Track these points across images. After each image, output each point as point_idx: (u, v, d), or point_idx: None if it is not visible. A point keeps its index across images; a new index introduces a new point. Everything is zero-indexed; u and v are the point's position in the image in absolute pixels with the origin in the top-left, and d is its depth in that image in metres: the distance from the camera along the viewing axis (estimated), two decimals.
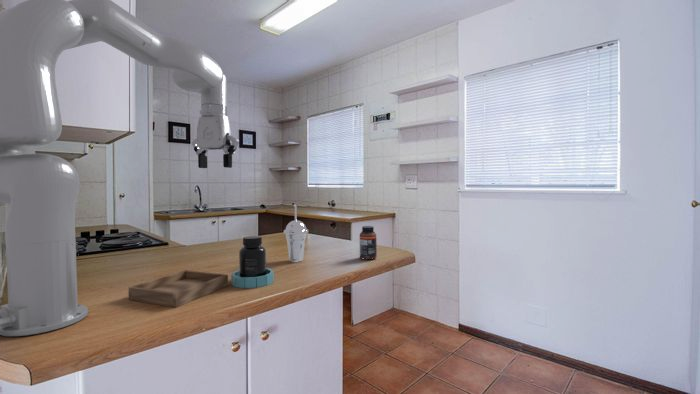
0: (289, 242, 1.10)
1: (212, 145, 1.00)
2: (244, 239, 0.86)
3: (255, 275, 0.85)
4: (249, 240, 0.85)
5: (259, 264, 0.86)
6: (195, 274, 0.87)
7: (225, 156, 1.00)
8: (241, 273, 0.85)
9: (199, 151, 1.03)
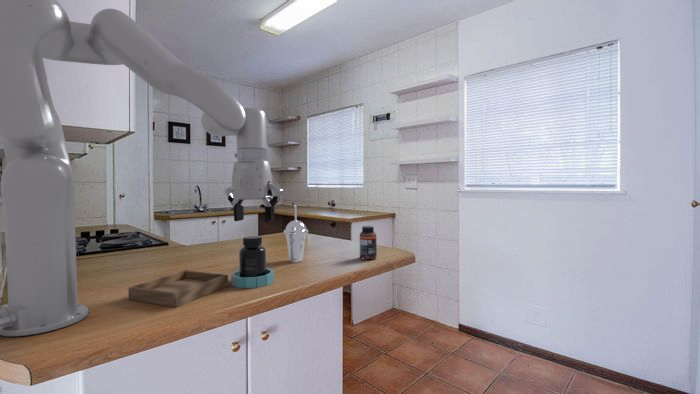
0: (289, 242, 1.10)
1: (251, 197, 0.84)
2: (244, 239, 0.86)
3: (255, 275, 0.85)
4: (249, 240, 0.85)
5: (259, 264, 0.86)
6: (195, 274, 0.87)
7: (267, 209, 0.85)
8: (241, 273, 0.85)
9: (235, 202, 0.88)
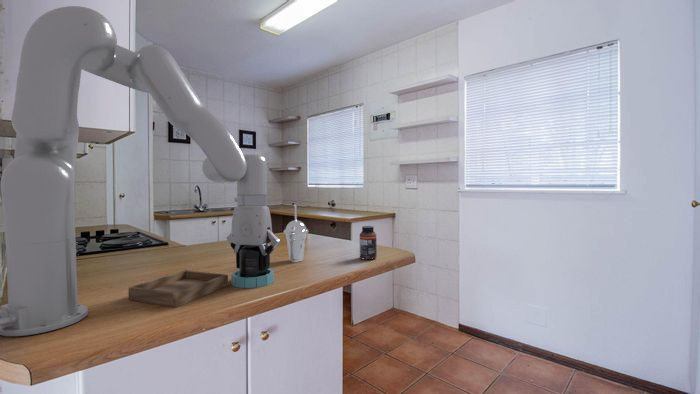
0: (289, 242, 1.10)
1: (251, 243, 0.84)
2: None
3: (255, 275, 0.85)
4: None
5: (259, 264, 0.86)
6: (195, 274, 0.87)
7: (262, 258, 0.85)
8: (241, 273, 0.85)
9: (237, 248, 0.88)
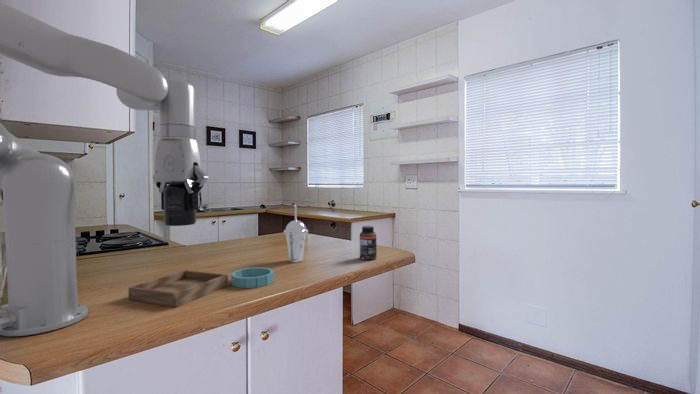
0: (289, 242, 1.10)
1: (174, 179, 0.75)
2: None
3: (180, 215, 0.76)
4: None
5: (185, 203, 0.76)
6: (195, 274, 0.87)
7: (188, 196, 0.76)
8: (164, 213, 0.76)
9: (162, 187, 0.79)
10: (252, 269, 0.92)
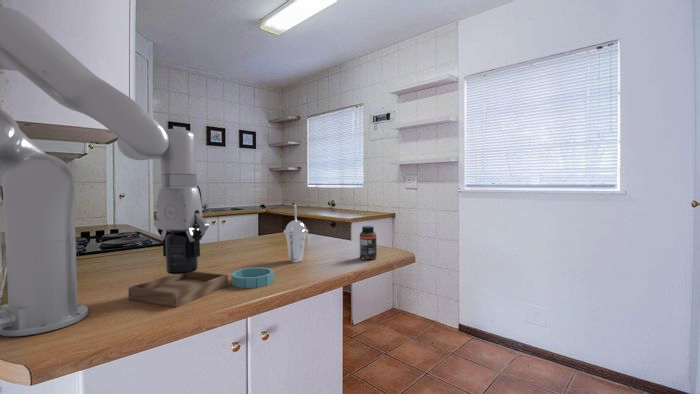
0: (289, 242, 1.10)
1: (176, 228, 0.76)
2: None
3: (182, 263, 0.76)
4: None
5: None
6: (195, 274, 0.87)
7: (190, 244, 0.77)
8: (167, 261, 0.77)
9: (164, 234, 0.79)
10: (252, 269, 0.92)
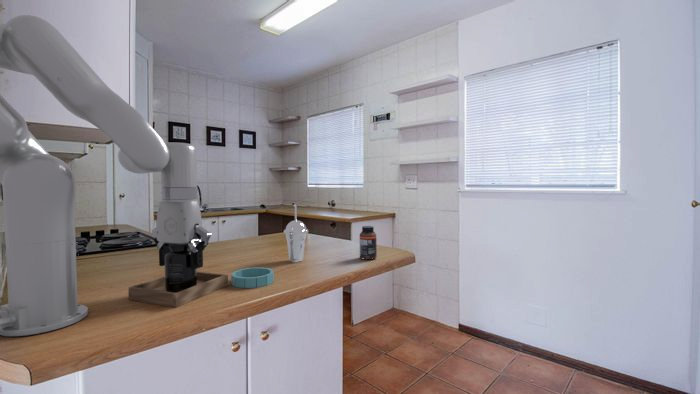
0: (289, 242, 1.10)
1: (175, 241, 0.76)
2: None
3: (181, 282, 0.76)
4: None
5: (186, 270, 0.77)
6: None
7: (193, 255, 0.76)
8: (166, 280, 0.77)
9: (160, 244, 0.79)
10: (252, 269, 0.92)
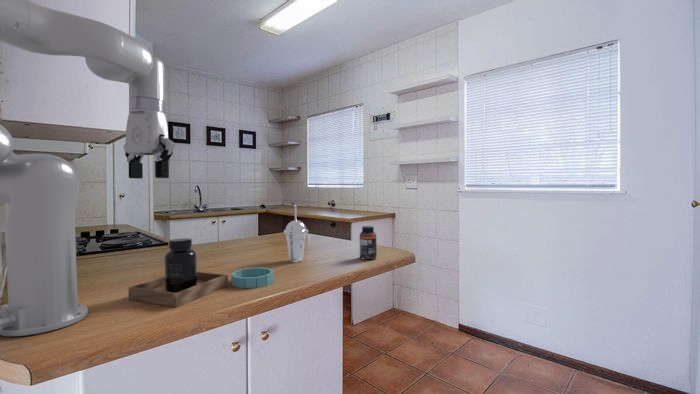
0: (289, 242, 1.10)
1: (141, 150, 0.78)
2: (170, 242, 0.77)
3: (181, 282, 0.76)
4: (175, 243, 0.77)
5: (186, 270, 0.77)
6: None
7: (157, 164, 0.78)
8: (166, 280, 0.77)
9: (130, 157, 0.82)
10: (252, 269, 0.92)
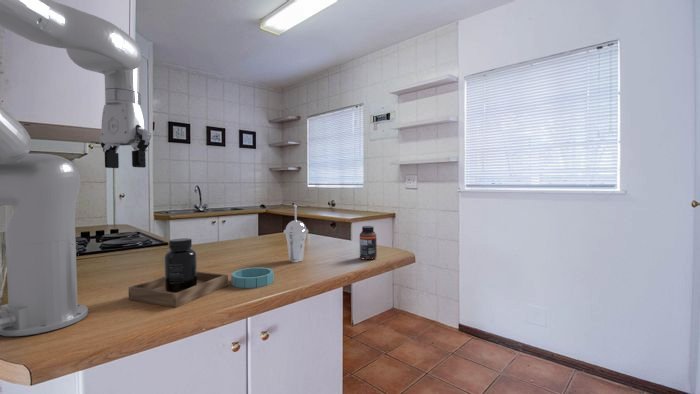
0: (289, 242, 1.10)
1: (118, 140, 0.81)
2: (170, 242, 0.77)
3: (181, 282, 0.76)
4: (175, 243, 0.77)
5: (186, 270, 0.77)
6: None
7: (134, 153, 0.81)
8: (166, 280, 0.77)
9: (106, 147, 0.85)
10: (252, 269, 0.92)
